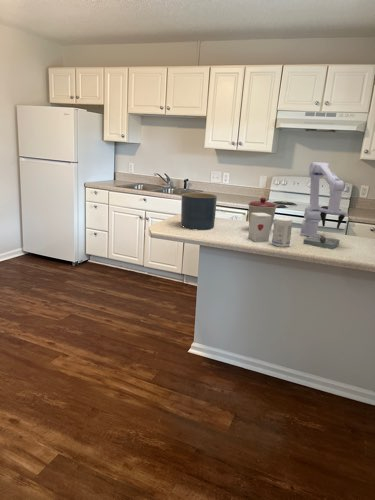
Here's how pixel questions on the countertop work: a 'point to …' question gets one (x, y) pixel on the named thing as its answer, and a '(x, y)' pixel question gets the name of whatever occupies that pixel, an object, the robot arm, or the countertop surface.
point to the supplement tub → (282, 231)
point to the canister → (262, 208)
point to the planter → (198, 210)
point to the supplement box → (259, 227)
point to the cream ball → (321, 234)
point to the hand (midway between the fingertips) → (330, 227)
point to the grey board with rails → (316, 241)
